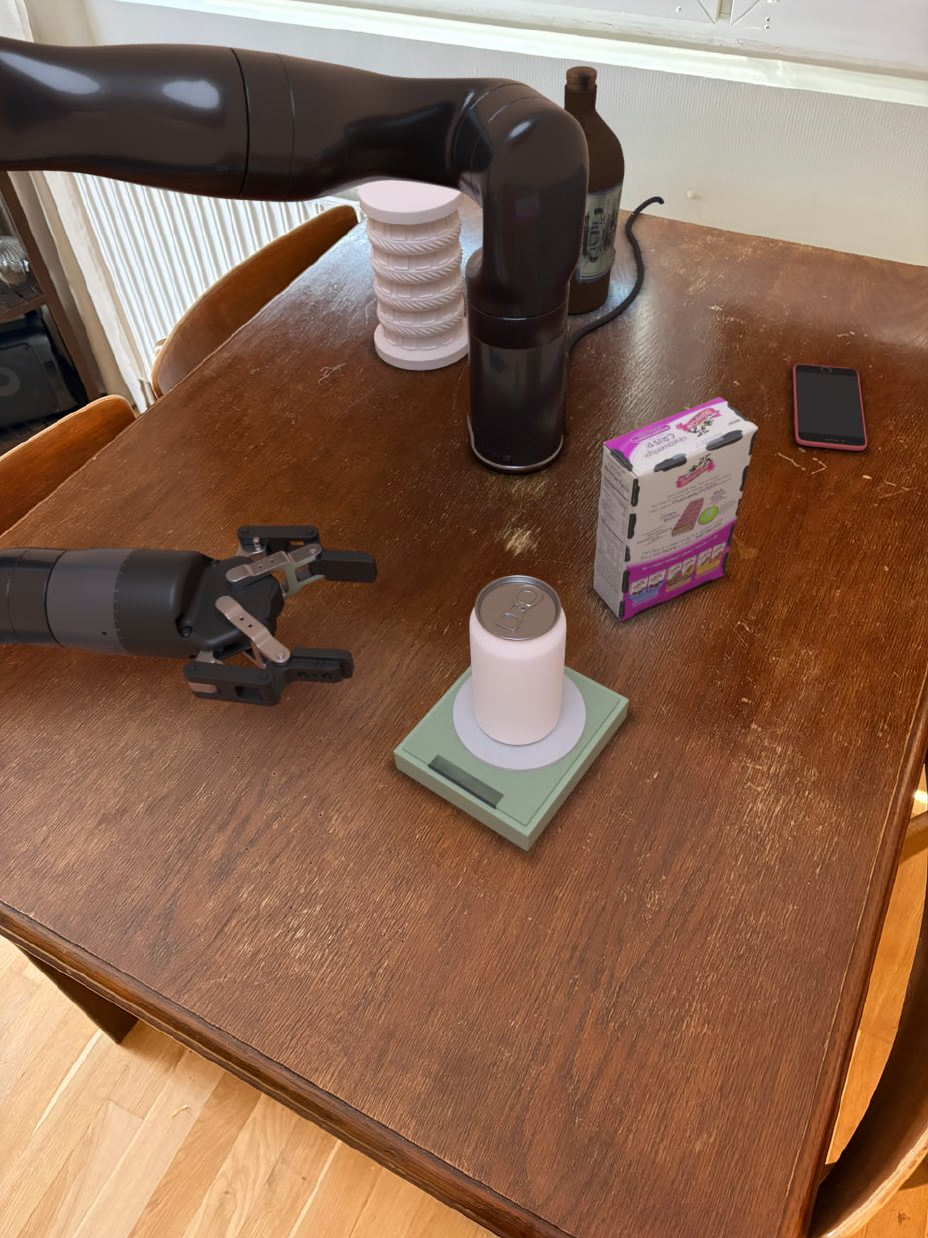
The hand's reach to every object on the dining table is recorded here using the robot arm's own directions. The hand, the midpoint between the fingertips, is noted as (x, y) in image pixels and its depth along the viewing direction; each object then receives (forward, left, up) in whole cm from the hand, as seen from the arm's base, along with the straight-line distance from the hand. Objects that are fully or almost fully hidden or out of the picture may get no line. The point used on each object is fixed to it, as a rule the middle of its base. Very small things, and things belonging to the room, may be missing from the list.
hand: (364, 614), depth 61 cm
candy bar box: (-25, +10, -14) cm, 31 cm away
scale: (-4, +9, -13) cm, 17 cm away
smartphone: (-58, +13, -13) cm, 60 cm away
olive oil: (-62, -22, -14) cm, 68 cm away
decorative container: (-44, -31, -14) cm, 56 cm away
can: (-5, +9, -10) cm, 15 cm away
